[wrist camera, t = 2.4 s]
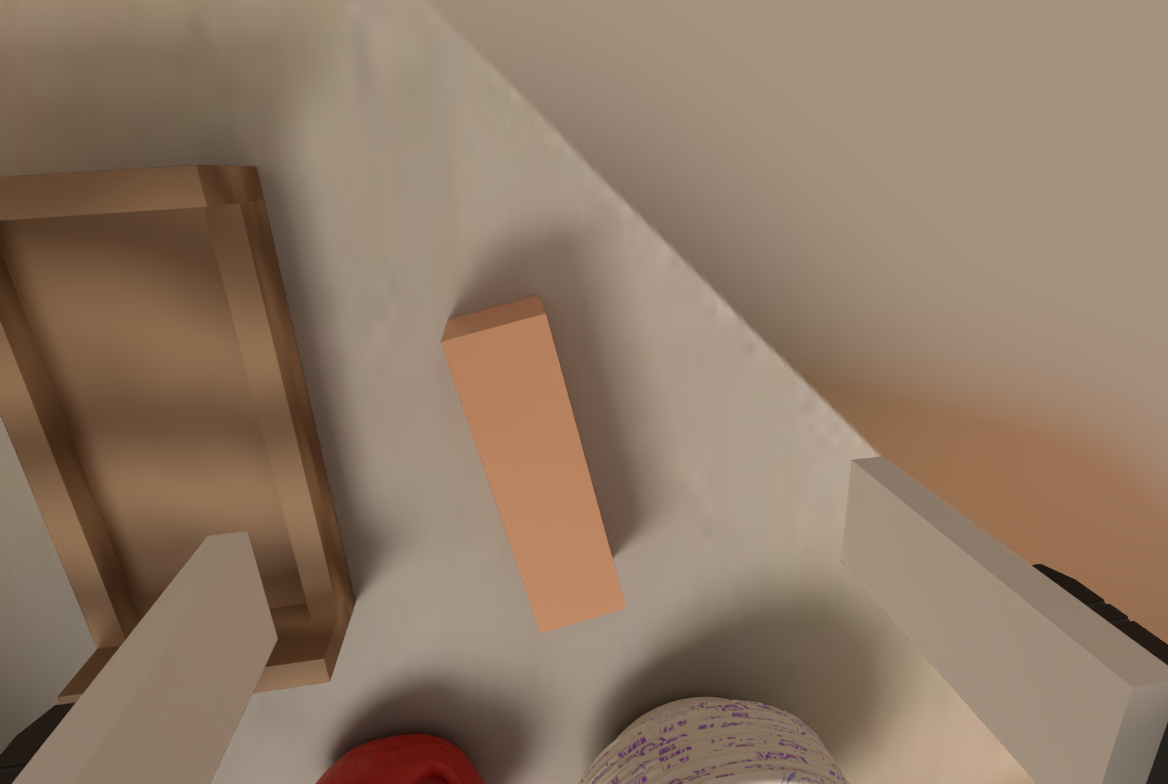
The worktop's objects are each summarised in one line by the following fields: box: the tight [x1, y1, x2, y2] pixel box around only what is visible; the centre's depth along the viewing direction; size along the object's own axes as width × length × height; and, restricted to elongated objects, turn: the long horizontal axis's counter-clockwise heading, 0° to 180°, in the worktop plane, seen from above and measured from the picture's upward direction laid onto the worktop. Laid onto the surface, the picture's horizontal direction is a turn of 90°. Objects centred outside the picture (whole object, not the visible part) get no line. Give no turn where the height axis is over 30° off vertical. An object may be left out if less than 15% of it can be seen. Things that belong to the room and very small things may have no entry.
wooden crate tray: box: [0, 165, 355, 704], centre depth 24 cm, size 20×10×5 cm, turn 3°
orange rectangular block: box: [441, 295, 626, 633], centre depth 27 cm, size 14×4×4 cm, turn 13°
